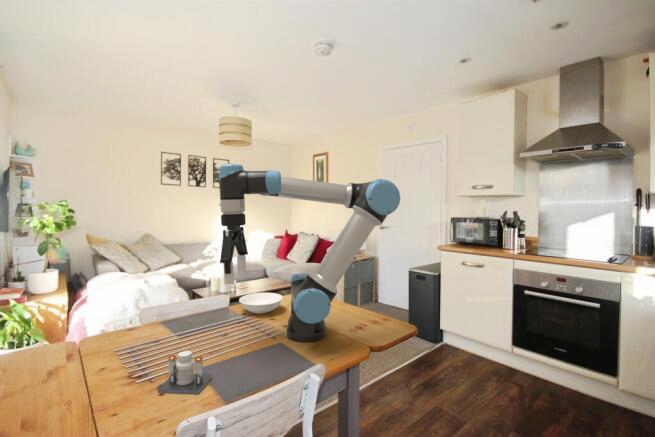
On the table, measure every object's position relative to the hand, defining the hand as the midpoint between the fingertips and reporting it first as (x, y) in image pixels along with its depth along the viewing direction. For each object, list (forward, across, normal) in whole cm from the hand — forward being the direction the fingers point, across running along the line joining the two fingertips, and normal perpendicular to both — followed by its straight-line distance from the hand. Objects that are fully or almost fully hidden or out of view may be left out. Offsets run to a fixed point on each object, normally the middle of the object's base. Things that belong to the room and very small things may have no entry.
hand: (236, 278), depth 105 cm
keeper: (+24, +18, -9) cm, 32 cm away
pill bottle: (+24, +18, -9) cm, 31 cm away
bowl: (+26, -42, -2) cm, 50 cm away
